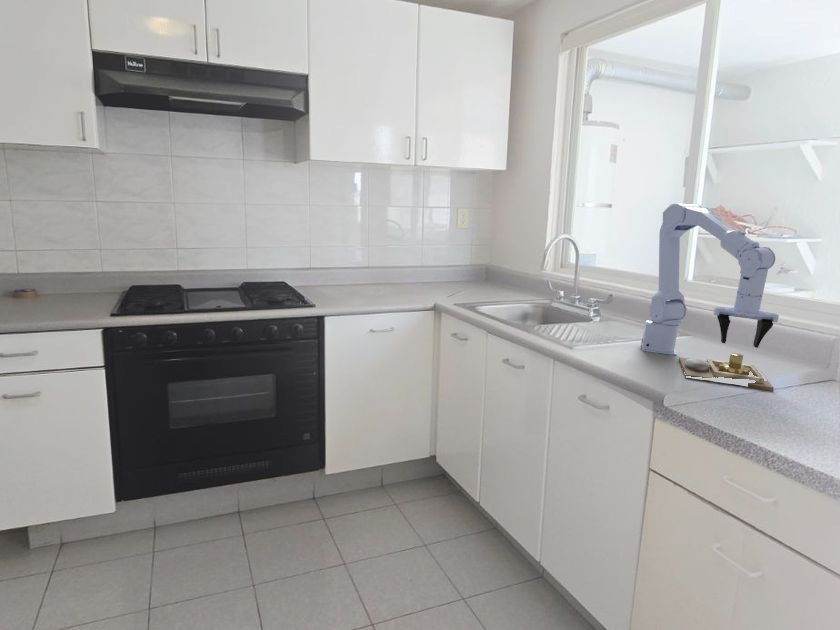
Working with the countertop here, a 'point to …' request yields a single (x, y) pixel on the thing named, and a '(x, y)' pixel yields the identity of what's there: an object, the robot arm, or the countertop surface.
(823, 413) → the countertop surface
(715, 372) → the carrier board
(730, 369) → the planet gear
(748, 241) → the robot arm
